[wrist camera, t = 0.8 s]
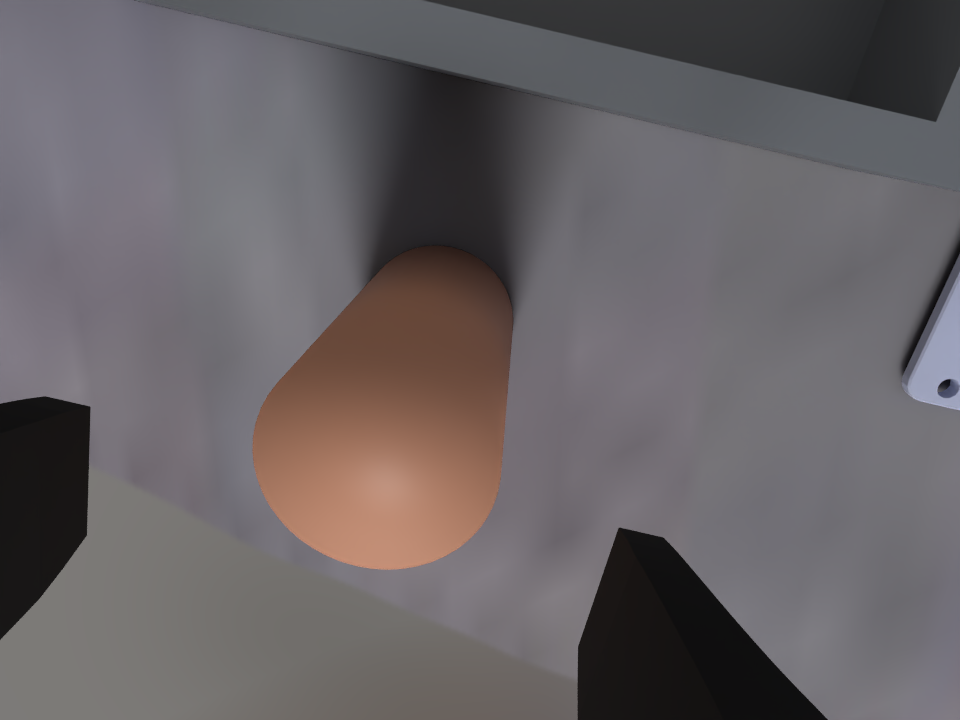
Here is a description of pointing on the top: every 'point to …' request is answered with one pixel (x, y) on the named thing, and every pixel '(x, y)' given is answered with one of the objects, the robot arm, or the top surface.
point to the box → (683, 64)
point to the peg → (394, 416)
